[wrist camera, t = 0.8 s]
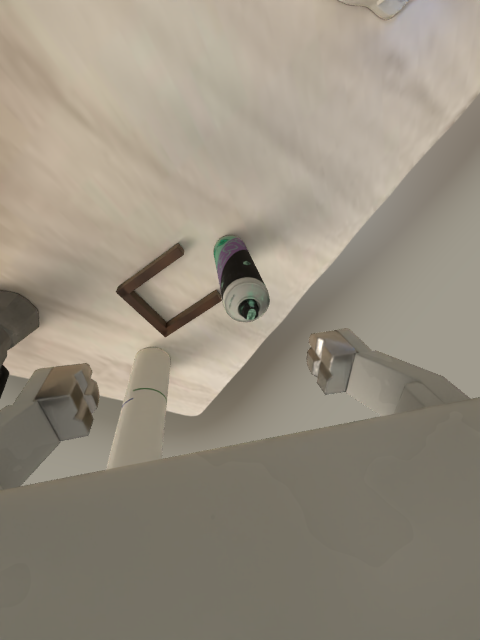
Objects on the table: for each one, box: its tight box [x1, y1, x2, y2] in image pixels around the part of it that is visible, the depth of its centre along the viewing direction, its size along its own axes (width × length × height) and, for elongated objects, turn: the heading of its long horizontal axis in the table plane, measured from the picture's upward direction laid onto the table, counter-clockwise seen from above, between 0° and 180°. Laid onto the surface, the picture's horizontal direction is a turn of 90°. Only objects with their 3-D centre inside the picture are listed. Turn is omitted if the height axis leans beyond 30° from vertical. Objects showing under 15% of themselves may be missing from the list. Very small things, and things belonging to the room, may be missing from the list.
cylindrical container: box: [106, 347, 171, 470], centre depth 46 cm, size 7×7×25 cm
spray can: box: [214, 235, 270, 322], centre depth 38 cm, size 6×6×20 cm
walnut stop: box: [116, 243, 222, 337], centre depth 48 cm, size 13×12×2 cm
